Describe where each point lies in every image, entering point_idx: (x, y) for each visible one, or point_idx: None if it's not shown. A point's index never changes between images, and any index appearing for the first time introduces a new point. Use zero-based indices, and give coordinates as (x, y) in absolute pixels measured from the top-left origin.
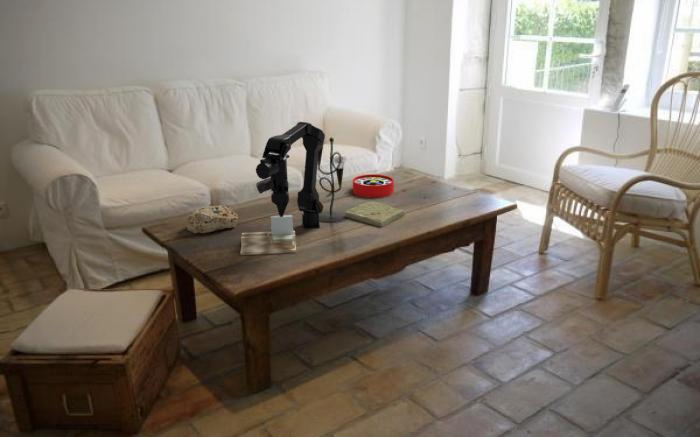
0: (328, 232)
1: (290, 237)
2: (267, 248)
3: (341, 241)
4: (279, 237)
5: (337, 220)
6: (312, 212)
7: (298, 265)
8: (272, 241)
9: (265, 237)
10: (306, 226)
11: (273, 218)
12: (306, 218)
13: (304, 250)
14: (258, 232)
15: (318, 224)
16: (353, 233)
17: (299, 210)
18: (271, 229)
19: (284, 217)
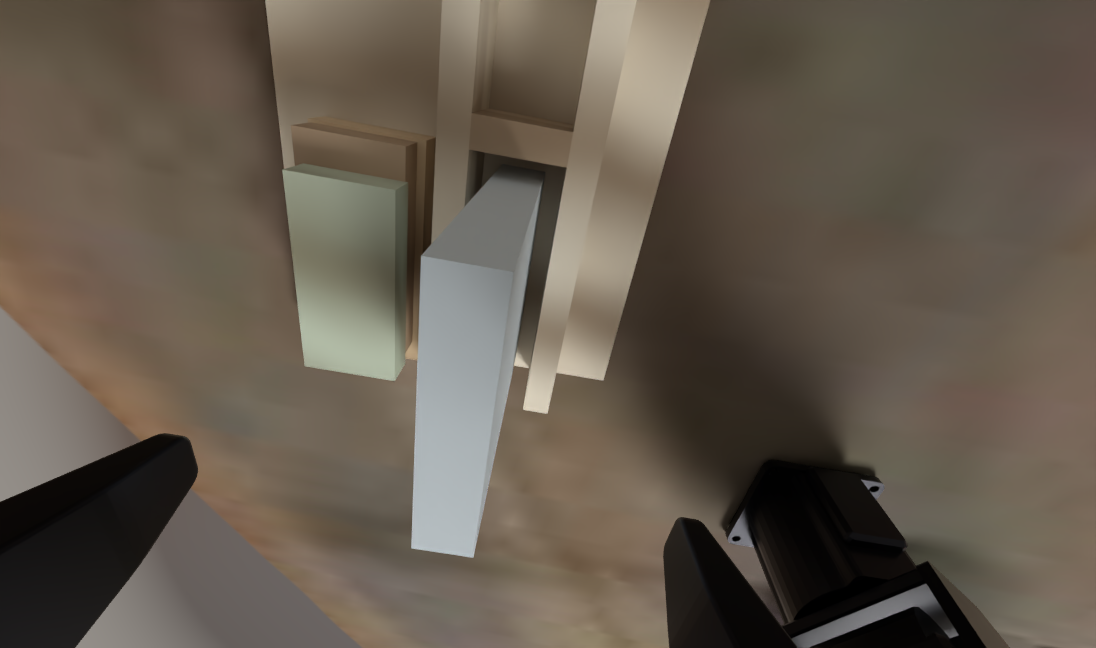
0: (620, 550)
1: (337, 351)
2: (347, 86)
3: (461, 567)
4: (347, 250)
5: None
6: (794, 626)
7: (75, 288)
8: (338, 158)
9: (439, 86)
10: (771, 480)
11: (426, 297)
12: (810, 538)
13: (348, 377)
14: (630, 3)
15: (754, 545)
16: (558, 628)
17: (927, 567)
18: (474, 196)
19: (415, 459)
